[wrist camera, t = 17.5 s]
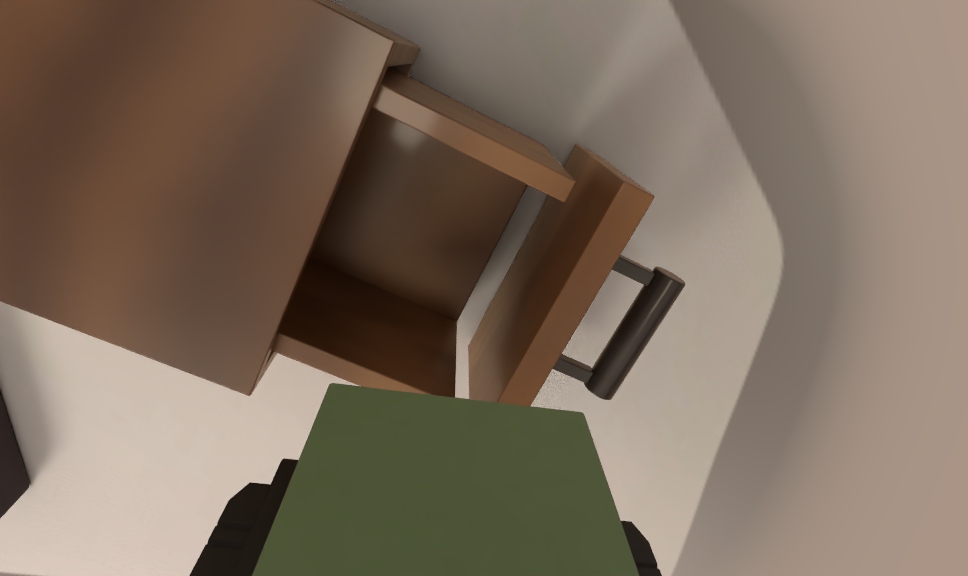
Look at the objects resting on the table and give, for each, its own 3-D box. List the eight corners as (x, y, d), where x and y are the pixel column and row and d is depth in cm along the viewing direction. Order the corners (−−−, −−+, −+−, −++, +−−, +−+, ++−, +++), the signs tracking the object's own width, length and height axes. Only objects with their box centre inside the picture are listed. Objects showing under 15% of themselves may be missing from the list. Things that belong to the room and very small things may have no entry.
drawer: (680, 197, 28) (768, 253, 20) (564, 387, 32) (598, 501, 24) (321, 12, 25) (252, -10, 17) (235, 247, 29) (144, 323, 20)
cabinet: (420, 47, 27) (395, 41, 17) (319, 286, 30) (249, 396, 21) (84, -128, 24) (-184, -259, 14) (20, 159, 28) (-225, 216, 18)
